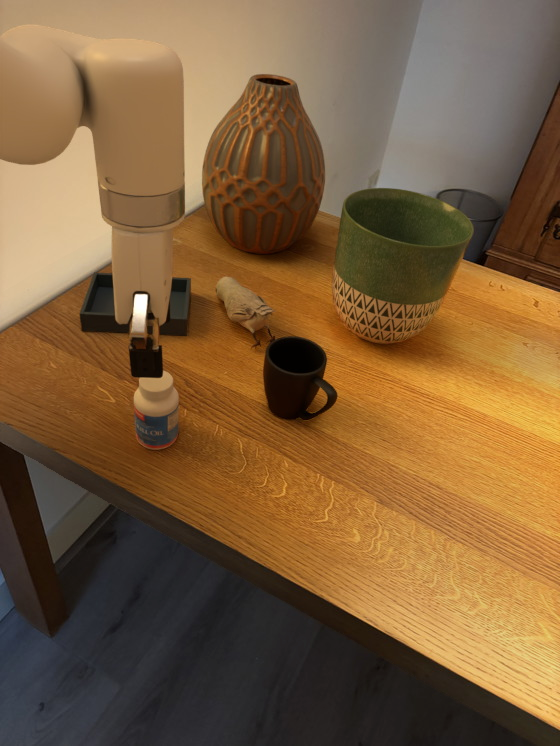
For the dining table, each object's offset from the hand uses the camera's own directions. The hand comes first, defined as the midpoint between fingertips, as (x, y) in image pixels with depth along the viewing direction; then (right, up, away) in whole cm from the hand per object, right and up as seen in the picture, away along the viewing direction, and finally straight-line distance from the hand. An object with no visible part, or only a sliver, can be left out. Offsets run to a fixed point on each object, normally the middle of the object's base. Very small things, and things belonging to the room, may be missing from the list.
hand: (152, 346), depth 61 cm
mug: (+16, -9, +16) cm, 25 cm away
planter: (+31, +4, +34) cm, 46 cm away
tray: (-9, +7, +30) cm, 32 cm away
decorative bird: (+8, +5, +31) cm, 32 cm away
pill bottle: (-2, -11, +10) cm, 15 cm away
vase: (+9, +25, +55) cm, 61 cm away
